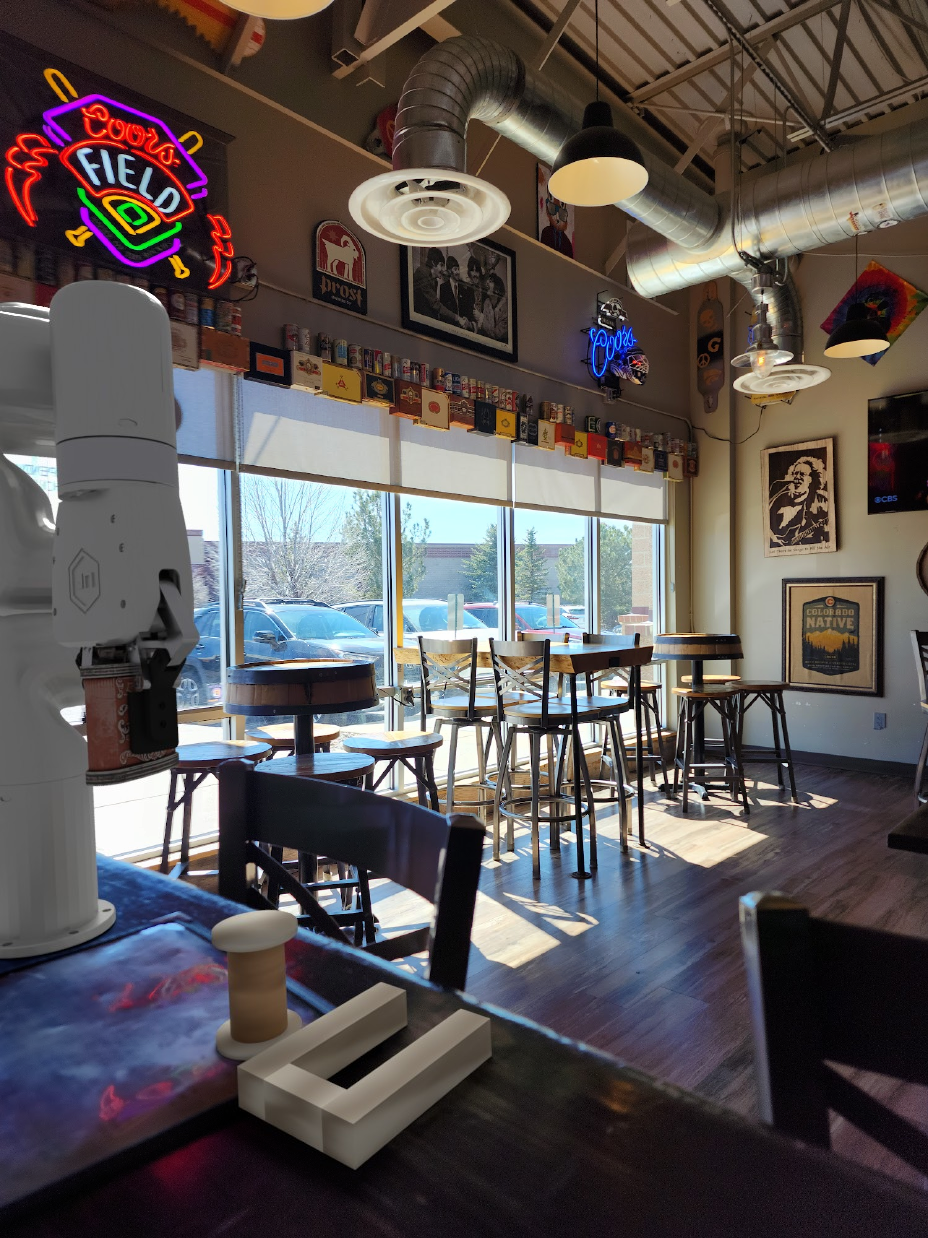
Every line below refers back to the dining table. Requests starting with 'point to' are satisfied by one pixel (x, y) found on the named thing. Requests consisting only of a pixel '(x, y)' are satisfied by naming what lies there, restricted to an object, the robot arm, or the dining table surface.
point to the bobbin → (255, 982)
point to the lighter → (115, 723)
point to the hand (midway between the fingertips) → (133, 746)
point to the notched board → (380, 1102)
